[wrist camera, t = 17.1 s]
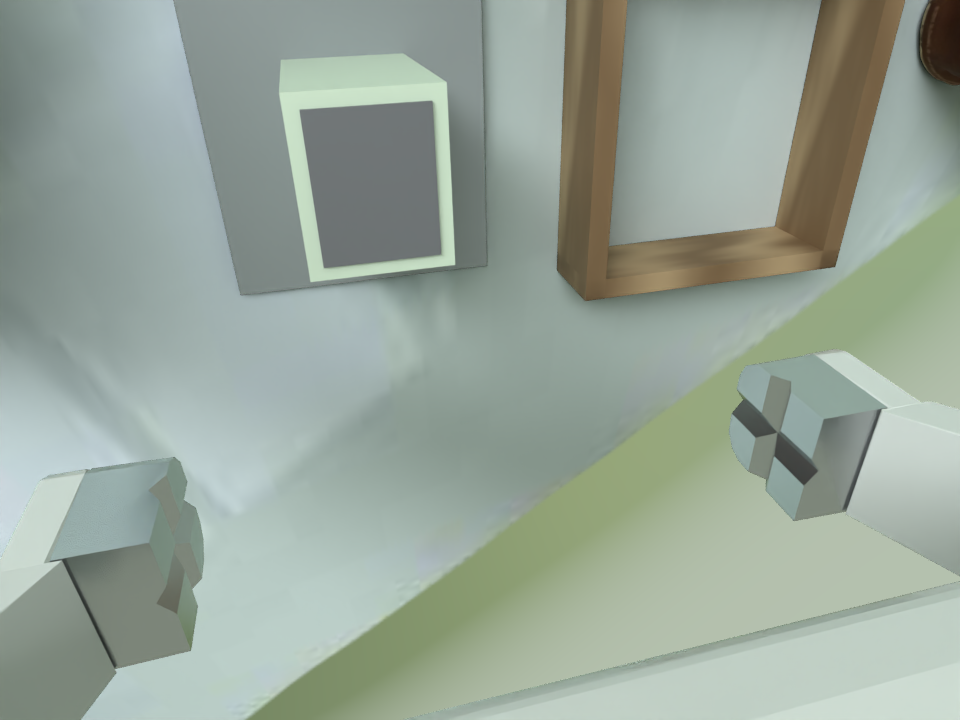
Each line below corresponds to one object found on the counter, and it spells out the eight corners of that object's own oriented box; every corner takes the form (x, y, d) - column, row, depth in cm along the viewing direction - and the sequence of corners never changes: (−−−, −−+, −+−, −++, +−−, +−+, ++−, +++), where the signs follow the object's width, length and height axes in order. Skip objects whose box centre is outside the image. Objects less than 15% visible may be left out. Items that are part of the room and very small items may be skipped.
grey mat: (476, -61, 27) (480, -62, 27) (484, 261, 34) (486, 265, 34) (163, -55, 25) (160, -55, 24) (241, 290, 32) (240, 295, 31)
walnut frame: (860, -95, 30) (932, -103, 27) (786, 241, 38) (835, 266, 35) (569, -92, 27) (609, -101, 24) (556, 270, 35) (585, 301, 32)
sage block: (403, 53, 28) (447, 82, 20) (413, 194, 31) (456, 266, 23) (280, 59, 27) (278, 93, 19) (304, 205, 30) (310, 284, 22)
